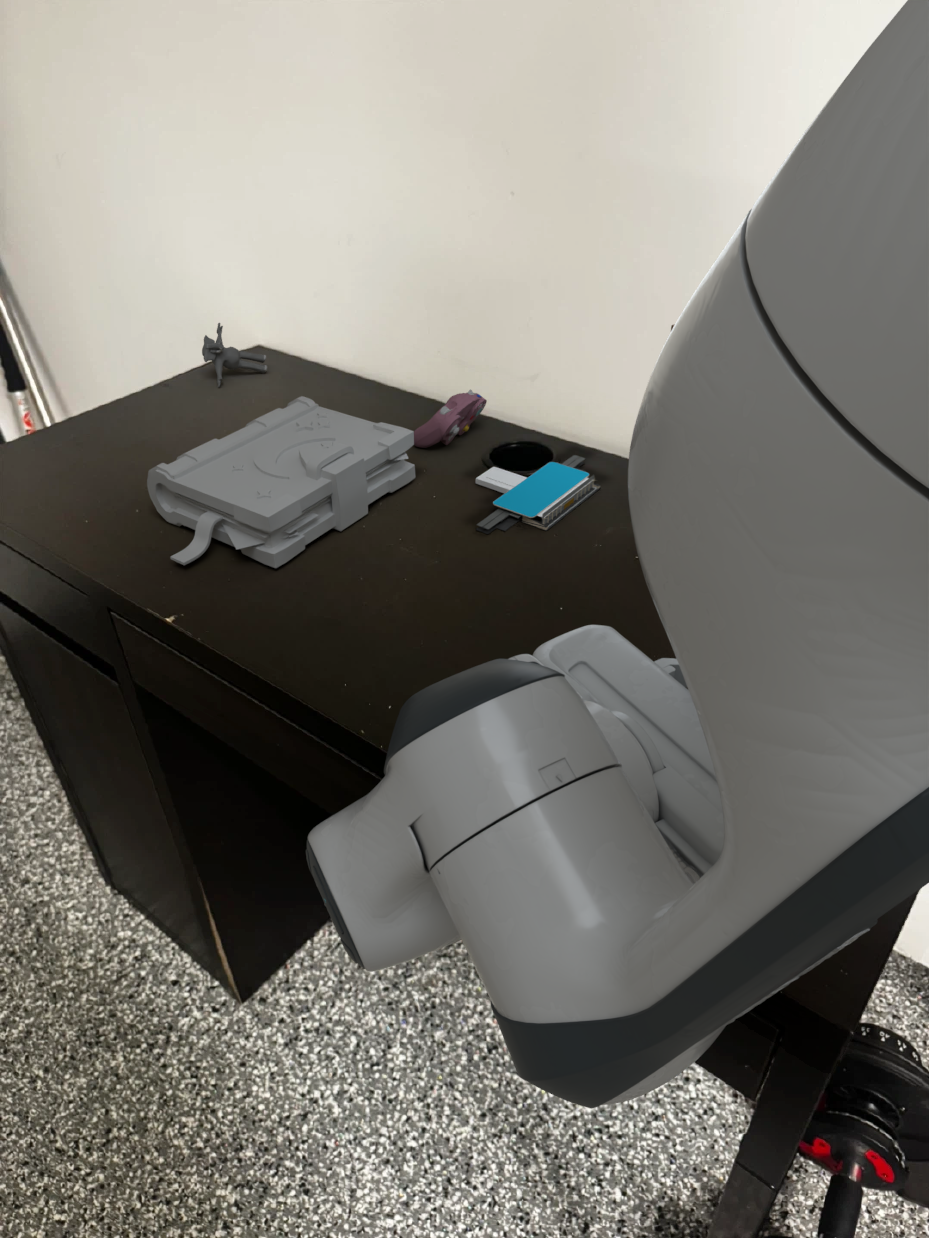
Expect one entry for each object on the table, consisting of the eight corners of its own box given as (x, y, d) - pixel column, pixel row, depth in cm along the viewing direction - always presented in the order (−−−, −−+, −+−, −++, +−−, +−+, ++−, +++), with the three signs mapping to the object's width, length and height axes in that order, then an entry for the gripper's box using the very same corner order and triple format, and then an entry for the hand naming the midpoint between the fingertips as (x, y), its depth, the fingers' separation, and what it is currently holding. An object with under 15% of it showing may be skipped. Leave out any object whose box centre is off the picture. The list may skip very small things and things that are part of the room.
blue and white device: (531, 447, 108) (532, 434, 107) (618, 474, 102) (620, 461, 101) (431, 513, 95) (430, 499, 94) (524, 548, 90) (525, 534, 89)
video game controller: (434, 466, 107) (456, 423, 102) (406, 442, 108) (426, 399, 103) (476, 436, 114) (498, 395, 109) (449, 414, 114) (470, 372, 109)
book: (111, 539, 91) (93, 472, 86) (298, 440, 109) (291, 381, 105) (246, 601, 82) (233, 530, 78) (425, 482, 101) (423, 419, 96)
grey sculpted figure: (272, 387, 123) (206, 373, 119) (259, 406, 128) (195, 394, 124) (271, 323, 126) (207, 308, 121) (258, 344, 131) (196, 330, 126)
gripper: (728, 878, 41) (918, 766, 47) (490, 644, 55) (659, 580, 61) (705, 956, 45) (883, 843, 51) (487, 719, 59) (647, 652, 65)
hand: (759, 698), depth 56 cm, fingers closed on syrup box, 6 cm apart
